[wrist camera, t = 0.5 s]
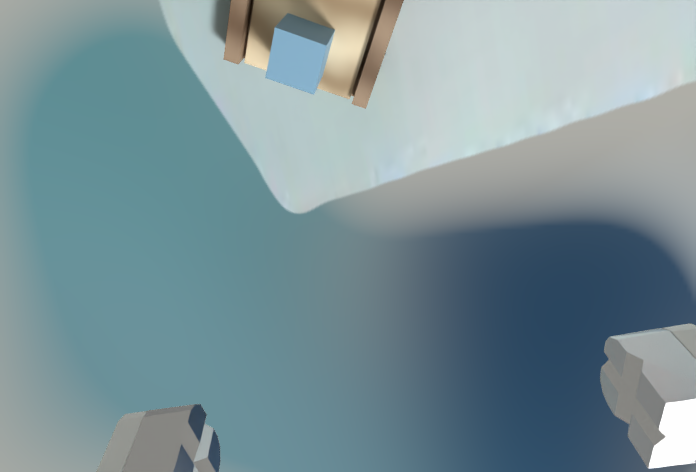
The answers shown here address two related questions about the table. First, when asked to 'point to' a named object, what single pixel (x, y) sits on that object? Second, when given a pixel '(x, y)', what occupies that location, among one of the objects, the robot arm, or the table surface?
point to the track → (372, 55)
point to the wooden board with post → (325, 9)
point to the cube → (299, 53)
